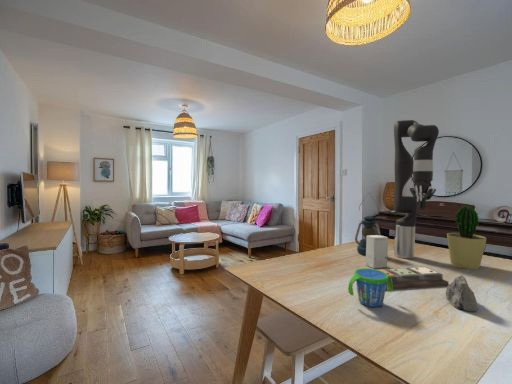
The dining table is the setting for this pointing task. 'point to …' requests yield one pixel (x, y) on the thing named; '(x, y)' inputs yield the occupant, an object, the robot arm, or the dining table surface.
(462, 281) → the mineral rock
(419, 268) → the cream button
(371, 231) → the lantern
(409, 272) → the sage button
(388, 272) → the orange flat square block
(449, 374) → the dining table surface
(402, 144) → the robot arm
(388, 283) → the snack cup
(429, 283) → the button panel
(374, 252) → the skincare box
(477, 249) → the potted cactus
